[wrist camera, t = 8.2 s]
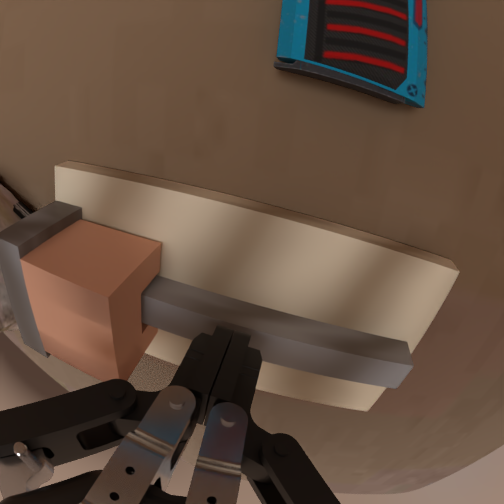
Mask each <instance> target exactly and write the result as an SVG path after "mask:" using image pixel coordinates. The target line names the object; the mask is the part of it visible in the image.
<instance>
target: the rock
mask: <svg viewBox="0 0 504 504" xmlns="http://www.w3.org/2000/svg"><path fill="white" fill-rule="evenodd" d="M30 214H32V212H31V211H30V210H29V209H28V208H27V207H26V206H25V205H24V204H23V203H22V202H19V201H18V200H17V199H16V198H15V197H14V196H13V194H12V193H11V192H10V191H9V190H7V189H6V188H5V187H4V186H2V185H1V184H0V232H1V231H2V230H4V229H6V228H7V227H9V226H11V225H13V224H14V223H16V222H18V221H20V220H21V219H23V218H25V217H27V216H28V215H30ZM7 330H8V331H13V330H19V328H18V325H17V322H16V319H15V316H14V313H13V310H12V306H11V303H10V300H9V297H8V293H7V290H6V286H5V282H4V278H3V274H2V270H1V266H0V333H1V332H3V331H7Z"/></svg>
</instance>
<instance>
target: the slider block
mask: <svg viewBox="0 0 504 504" xmlns="http://www.w3.org/2000/svg"><path fill="white" fill-rule="evenodd" d="M160 254H161V243H159V242H155V241H152V240H148V239H145V238H142V237H138V236H135V235H131V234H128V233H125V232H121V231H118V230H114V229H111V228H108V227H104V226H101V225H98V224H94V223H91V222H88V221H84V220H81V219H80V220H78V221H76V222H75V223H73V224H72V225H70V226H68V227H67V228H65V229H64V230H62V231H60V232H59V233H57V234H56V235H54V236H53V237H51V238H50V239H48V240H47V241H45V242H44V243H42V244H41V245H39V246H38V247H36V248H35V249H33V250H32V251H31V252H29V253H28V254H26V255H25V256H23V257H22V258H21V259H20V261H21V266H22V271H23V276H24V280H25V284H26V289H27V293H28V297H29V300H30V304H31V308H32V311H33V315H34V318H35V322H36V325H37V328H38V331H39V334H40V337H41V340H42V343H43V346H44V349H45V351H46V352H48V353H50V354H51V355H53V356H55V357H57V358H58V359H60V360H62V361H64V362H66V363H67V364H69V365H71V366H73V367H75V368H77V369H79V370H81V371H83V372H85V373H87V374H89V375H91V376H93V377H95V378H97V379H99V380H101V381H103V382H105V381H108V380H111V379H123V380H126V381H127V380H128V378H129V377H130V375H131V373H132V372H133V370H134V369H135V367H136V365H137V364H138V362H139V361H140V359H141V357H142V356H143V354H144V353H145V351H146V350H147V348H148V346H149V345H150V343H151V342H152V340H153V339H154V337H155V335H156V334H157V332H158V328H155V327H152V326H150V325H147V324H144V323H142V322H141V293H142V292H143V290H144V289H145V288H146V287H147V286H148V285H149V283H150V282H151V281H152V280H153V279H154V277H155V276H156V275H157V274H158V273H159V272H160Z"/></svg>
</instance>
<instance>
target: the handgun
mask: <svg viewBox="0 0 504 504" xmlns="http://www.w3.org/2000/svg"><path fill="white" fill-rule="evenodd" d="M277 58H278V59H279V60H280V61H282V62H285V63H281V62H274V67H275V68H276V69H279V70H283V71H287V72H292V73H296V74H300V75H304V76H308V77H312V78H315V79H319V80H323V81H327V82H330V83H334V84H337V85H340V86H344V87H347V88H350V89H353V90H356V91H359V92H362V93H365V94H368V95H371V96H374V97H377V98H380V99H383V100H385V101H388V102H391V103H405V104H408V105H411V106H414V107H416V108H424V104H425V92H426V75H427V4H426V0H283V2H282V11H281V20H280V29H279V39H278V48H277Z"/></svg>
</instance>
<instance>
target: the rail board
mask: <svg viewBox="0 0 504 504" xmlns="http://www.w3.org/2000/svg"><path fill="white" fill-rule="evenodd" d="M55 199H56V201H55V202H53V203H51V204H49V205H47V206H45V207H43V208H41V209H39V210H38V211H36V212H34V213H32V214H30V215H28V216H27V217H25V218H23V219H21V220H20V221H18V222H16V223H14V224H13V225H11V226H9V227H7V228H6V229H4V230H2V231H1V232H0V266H1V270H2V274H3V278H4V282H5V286H6V290H7V293H8V297H9V300H10V303H11V306H12V310H13V313H14V316H15V319H16V322H17V325H18V328H19V330H20V333H21V336H22V339H23V341H24V344H26V345H27V346H29V347H31V348H32V349H34V350H35V351H37V352H39V353H40V354H42V355H44V356H45V357H47V358H48V357H49V356H50V355H51V354H50V353H48V352H46V351H45V349H44V346H43V343H42V340H41V337H40V334H39V331H38V328H37V325H36V322H35V318H34V315H33V311H32V308H31V304H30V300H29V297H28V293H27V289H26V284H25V280H24V276H23V271H22V266H21V261H20V259H21V258H22V257H23V256H25V255H26V254H28V253H29V252H31V251H32V250H33V249H35V248H36V247H38V246H39V245H41V244H42V243H44V242H45V241H47V240H48V239H50V238H51V237H53V236H54V235H56V234H57V233H59V232H60V231H62V230H64V229H65V228H67V227H68V226H70V225H72V224H73V223H75V222H76V221H78V220H80V219H81V220H84V221H88V222H91V223H94V224H98V225H101V226H104V227H108V228H111V229H114V230H118V231H121V232H125V233H128V234H131V235H135V236H138V237H142V238H145V239H148V240H152V241H155V242H159V243H161V254H160V272H159V273H158V274H157V275H156V276H155V277H154V279H153V280H152V281H151V282H150V283H149V285H148V286H147V287H146V288H145V289H144V290H143V292H142V293H141V322H142V323H144V324H147V325H150V326H152V327H155V328H158V332H157V334H156V335H155V337H154V339H153V340H152V342H151V343H150V345H149V346H148V348H147V350H146V351H145V353H146V354H149V355H151V356H154V357H157V358H159V359H162V360H165V361H168V362H170V363H173V364H176V365H179V366H180V364H181V362H182V360H183V358H184V357H185V354H186V352H187V350H188V349H189V346H190V344H191V342H192V340H193V339H194V338H195V337H197V336H198V335H199V334H201V333H205V334H208V335H213V333H214V331H215V329H216V326H217V325H220V326H223V327H226V328H230V329H233V330H234V332H235V330H236V331H240V332H243V333H246V334H250V335H251V338H250V341H249V345H248V347H251V348H254V349H258V350H260V352H261V356H262V360H263V361H262V365H261V369H260V373H259V377H258V381H257V385H256V389H258V390H262V391H266V392H270V393H274V394H278V395H283V396H287V397H291V398H296V399H300V400H305V401H310V402H315V403H320V404H325V405H331V406H336V407H342V408H348V409H354V410H361V411H368V410H369V409H370V408H371V406H372V405H373V404H374V403H375V402H376V400H377V399H378V398H379V397H380V395H381V394H382V393H383V392H384V390H385V389H386V388H394V389H397V387H398V386H399V385H400V384H401V382H402V381H403V380H404V378H405V377H406V376H407V374H408V373H409V372H410V370H411V369H412V368H413V366H414V365H413V361H412V358H411V353H412V352H413V350H414V349H415V347H416V346H417V344H418V343H419V341H420V340H421V338H422V337H423V335H424V334H425V332H426V330H427V329H428V327H429V326H430V324H431V322H432V321H433V319H434V317H435V316H436V314H437V312H438V311H439V309H440V307H441V305H442V304H443V302H444V300H445V298H446V297H447V295H448V293H449V291H450V289H451V288H452V286H453V284H454V282H455V280H456V278H457V276H458V274H459V272H460V271H459V270H458V269H457V267H456V266H455V264H454V263H453V262H452V260H450V259H447V258H444V257H441V256H438V255H435V254H432V253H429V252H426V251H423V250H420V249H417V248H414V247H411V246H408V245H405V244H402V243H399V242H396V241H393V240H390V239H386V238H383V237H380V236H377V235H374V234H370V233H367V232H364V231H360V230H357V229H354V228H350V227H347V226H344V225H340V224H337V223H333V222H330V221H327V220H323V219H320V218H316V217H312V216H309V215H305V214H302V213H298V212H294V211H291V210H287V209H283V208H280V207H276V206H272V205H268V204H264V203H261V202H257V201H253V200H249V199H245V198H241V197H237V196H233V195H229V194H225V193H221V192H217V191H212V190H208V189H204V188H200V187H195V186H191V185H187V184H182V183H178V182H173V181H169V180H164V179H160V178H155V177H150V176H146V175H141V174H136V173H131V172H126V171H121V170H116V169H111V168H106V167H101V166H96V165H90V164H85V163H79V162H74V161H66V162H64V163H61V164H58V165H55ZM234 332H233V334H234ZM232 337H233V336H232Z"/></svg>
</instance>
